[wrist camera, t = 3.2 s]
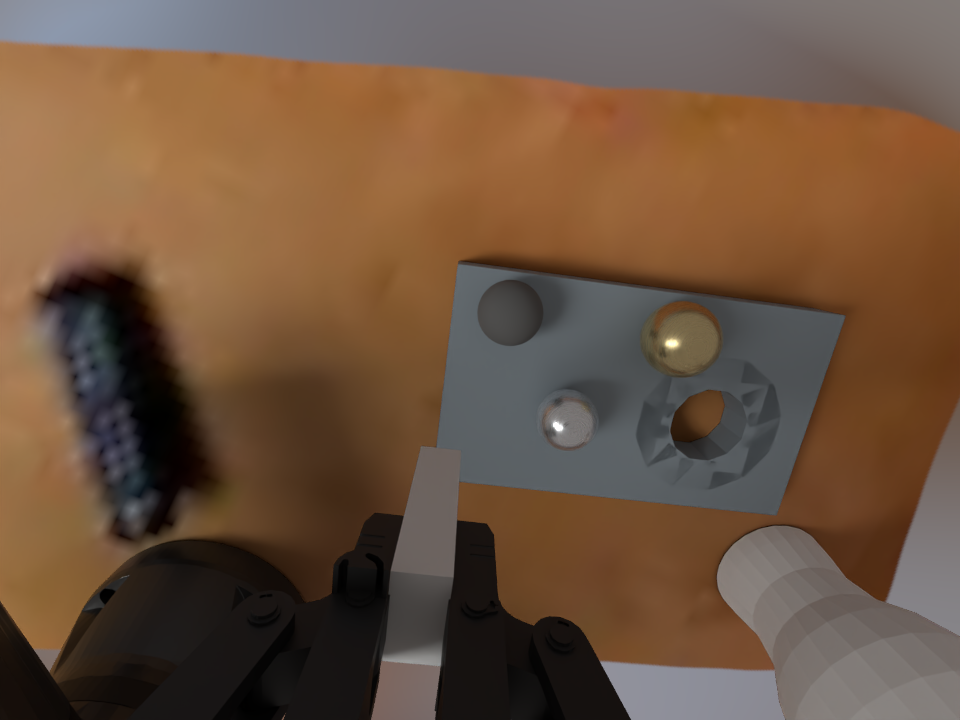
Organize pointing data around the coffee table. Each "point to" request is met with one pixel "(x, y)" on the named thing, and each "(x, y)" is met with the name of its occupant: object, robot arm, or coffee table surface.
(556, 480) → the plate
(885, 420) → the coffee table surface
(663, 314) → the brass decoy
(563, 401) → the steel ball
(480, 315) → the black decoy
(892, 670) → the cup
